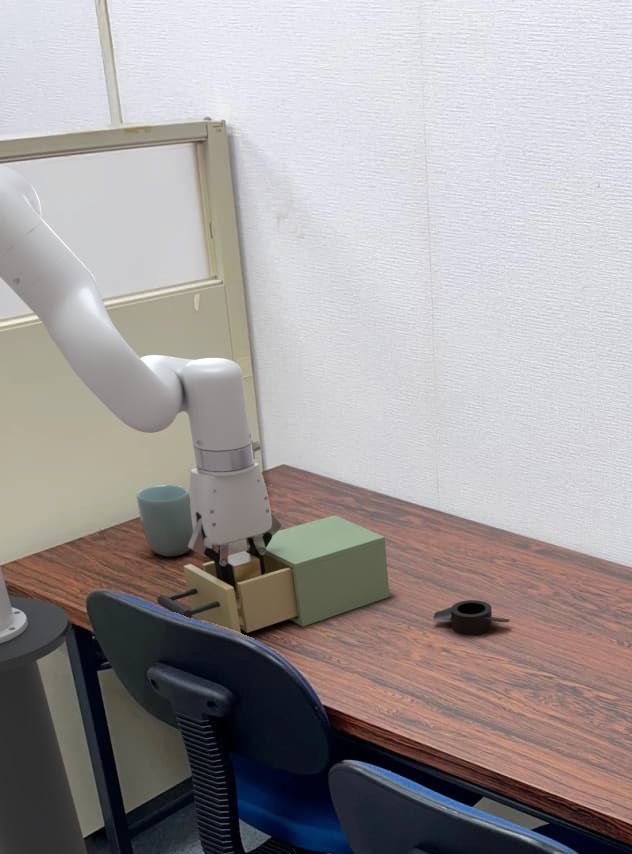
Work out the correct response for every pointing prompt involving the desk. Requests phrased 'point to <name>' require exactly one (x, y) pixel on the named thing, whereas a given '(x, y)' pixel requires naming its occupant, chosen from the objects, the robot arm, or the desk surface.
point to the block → (244, 567)
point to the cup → (166, 518)
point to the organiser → (332, 566)
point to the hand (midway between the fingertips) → (242, 582)
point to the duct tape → (469, 617)
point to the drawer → (238, 597)
